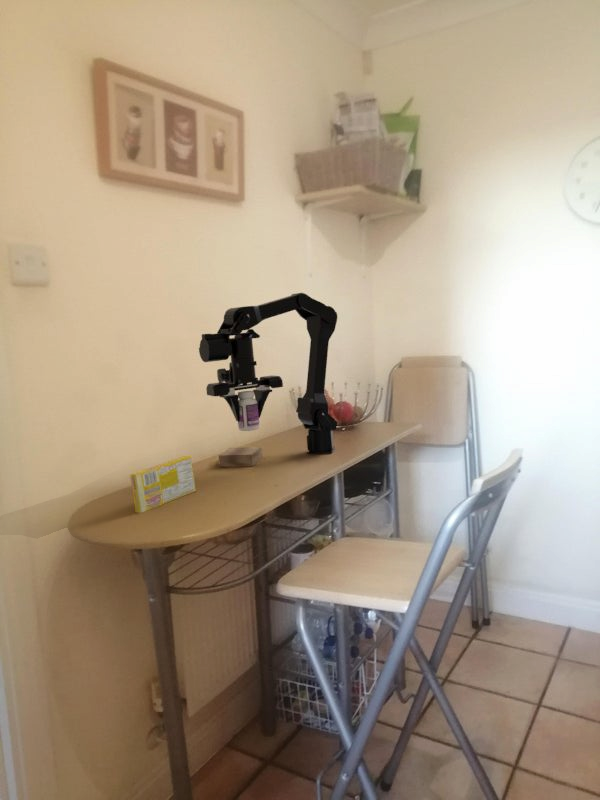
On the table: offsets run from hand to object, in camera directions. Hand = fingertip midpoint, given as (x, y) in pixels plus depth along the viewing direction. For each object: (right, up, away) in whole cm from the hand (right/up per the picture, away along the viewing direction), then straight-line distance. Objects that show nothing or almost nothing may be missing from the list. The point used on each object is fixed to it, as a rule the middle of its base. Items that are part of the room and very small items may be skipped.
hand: (248, 419), depth 156 cm
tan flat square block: (-2, -12, +8) cm, 14 cm away
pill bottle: (0, -3, 0) cm, 3 cm away
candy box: (-16, -17, -23) cm, 33 cm away
